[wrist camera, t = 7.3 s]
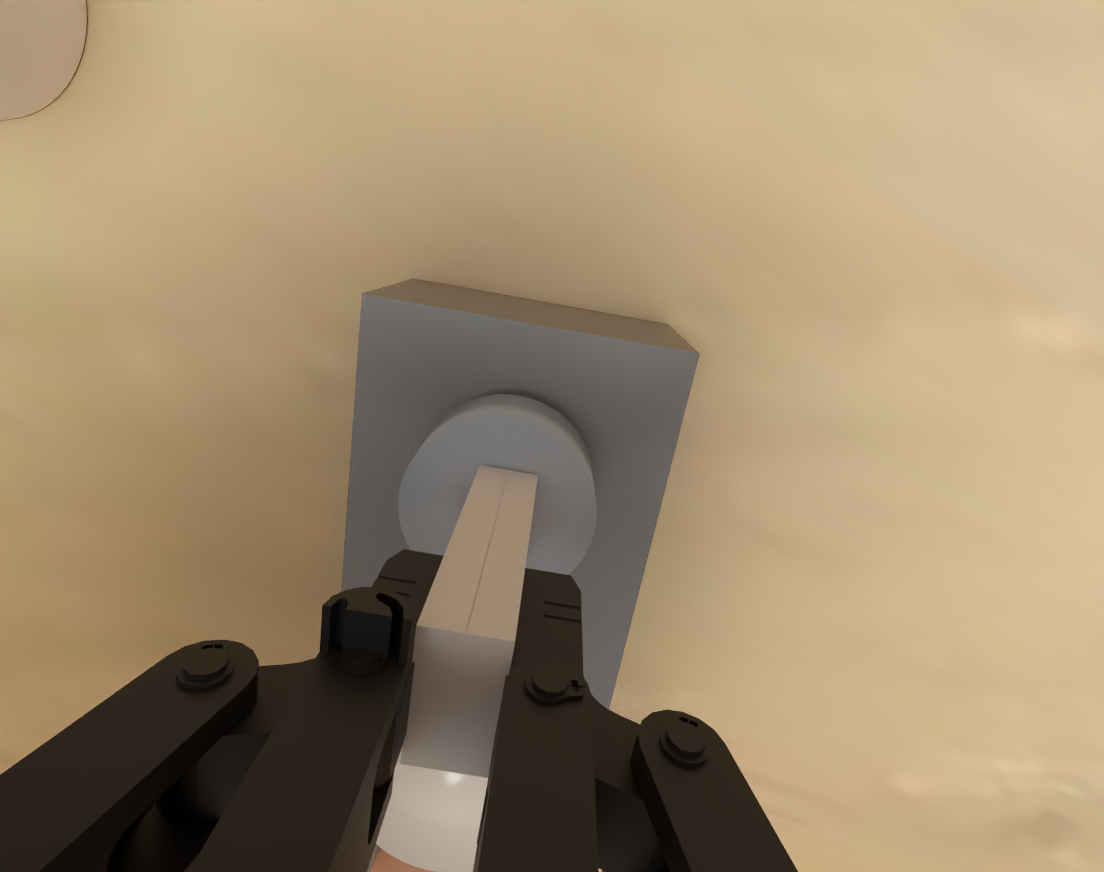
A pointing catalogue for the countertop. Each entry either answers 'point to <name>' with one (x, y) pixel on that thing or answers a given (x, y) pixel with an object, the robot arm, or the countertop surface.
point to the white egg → (433, 818)
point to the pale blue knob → (512, 444)
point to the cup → (38, 52)
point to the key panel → (535, 372)
